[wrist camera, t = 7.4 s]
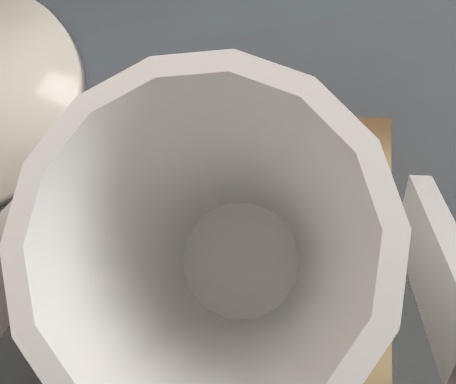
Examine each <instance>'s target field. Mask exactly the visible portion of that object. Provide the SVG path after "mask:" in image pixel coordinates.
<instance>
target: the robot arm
mask: <svg viewBox="0 0 456 384" xmlns="http://www.w3.org/2000/svg"><path fill="white" fill-rule="evenodd" d="M11 203H12V201H11V202H10V203H9V204H8V205H7V206H6V207H5V208H4V209H3V210H2V211H1V212H0V242H1V238H2V235H3V231H4V228H5V224H6V221H7V217H8V214H9V210H10V207H11ZM403 207H404V210H405V213H406V215H407V218H408V221H409V224H410V227H411V229H412V230H411V238H410V247H409V255H408V264H407V274H408V277H409V280H410V283H411V287H412V290H413V293H414V296H415V299H416V303H417V306H418V309H419V312H420V315H421V319H422V322H423V325H424V328H425V332H426V335H427V338H428V341H429V344H430V348H431V351H432V354H433V357H434V361H435V364H436V367H437V370H438V373H439V377H440V380H441V383H442V384H456V222H455V221H454V219H453V217H452V215H451V213H450V211H449V209H448V207H447V205H446V203H445V201H444V199H443V197H442V195H441V193H440V191H439V189H438V187H437V185H436V183H435V181H434V179H433V177H432V176H422V175H409V179H408V183H407V187H406V192H405V196H404V200H403ZM9 325H10V322H9V315H8V308H7V301H6V294H5V287H4V280H3V273H2V266H1V258H0V338H1V337H2V335H3V334H4V332H5V331H6V329H7V328H8V326H9Z"/></svg>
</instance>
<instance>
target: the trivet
mask: <svg viewBox="0 0 456 384" xmlns="http://www.w3.org/2000/svg"><path fill="white" fill-rule="evenodd" d="M85 89H86V84H85V72H84V68H83V63H82V59H81V56H80V54H79V51H78V48H77V46H76V44H75V42H74V41H73V39H72V37H71V35H70V34H69V33H68V32H67V30H66V29H65V28H64V27H63V25H62V24H61V23H60V22H59V21H58V19H57V18H56V17H55V16H54V15H53V14H52V13H51V12H50V11H49V10H48V9H47V8H46V7H44V6H43V5H42V4H40V3H39V2H37V1H36V0H0V206H2V205H4V204H7V203H9V202H11V201H12V199H13V196H14V192H15V189H16V185H17V182H18V178H19V175H20V171H21V168H22V164H23V162H24V161H25V160H26V158H27V157H28V156H29V155H30V153H31V152H32V151H33V150H34V148H35V147H36V146H37V145H38V143H39V142H40V141H41V140H42V138H43V137H44V136H45V135H46V133H47V132H48V131H49V130H50V128H51V127H52V126H53V125H54V123H55V122H56V121H57V120H58V118H59V117H60V116H61V115H62V113H63V112H64V111H65V110H66V109H67V107H68V106H69V105H70V104H71V102H72V101H73V100H74V99H75V97H76V96H78V95H80V94H81V93H83V92H85Z"/></svg>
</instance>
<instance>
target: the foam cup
mask: <svg viewBox="0 0 456 384" xmlns="http://www.w3.org/2000/svg"><path fill="white" fill-rule="evenodd" d="M411 230H412V229H411V227H410V224H409V221H408V218H407V215H406V213H405V210H404V207H403V204H402V202H401V199H400V196H399V193H398V190H397V188H396V185H395V182H394V179H393V176H392V174H391V171H390V168H389V165H388V163H387V160H386V157H385V154H384V151H383V149H382V146H381V143H380V140H379V139H378V138H377V137H376V136H375V135H374V134H373V133H372V132H371V131H370V130H369V129H368V128H367V127H366V126H365V125H364V124H363V123H362V122H361V121H360V120H359V119H358V118H357V117H355V116H354V115H353V114H352V113H351V112H350V111H349V110H348V109H347V108H346V107H345V106H344V105H343V104H342V103H341V102H340V101H339V100H338V99H337V98H336V97H335V96H334V95H333V94H332V93H331V92H330V91H329V90H328V89H327V88H326V87H325V86H324V85H323V84H322V83H321V82H320V81H319V80H318V79H317V78H316V77H314V76H311V75H308V74H305V73H302V72H299V71H296V70H294V69H291V68H288V67H285V66H282V65H279V64H276V63H273V62H270V61H268V60H265V59H262V58H259V57H256V56H253V55H250V54H247V53H245V52H242V51H239V50H236V49H226V50H215V51H203V52H192V53H181V54H170V55H158V56H150V57H148V58H146V59H144V60H142V61H140V62H139V63H137V64H135V65H133V66H131V67H129V68H128V69H126V70H124V71H122V72H120V73H118V74H116V75H115V76H113V77H111V78H109V79H107V80H105V81H104V82H102V83H100V84H98V85H96V86H94V87H92V88H91V89H89V90H87V91H85V92H83V93H81V94H80V95H78V96H76V97H75V99H74V100H73V101H72V102H71V104H70V105H69V106H68V107H67V109H66V110H65V111H64V112H63V113H62V115H61V116H60V117H59V118H58V120H57V121H56V122H55V123H54V125H53V126H52V127H51V128H50V130H49V131H48V132H47V133H46V135H45V136H44V137H43V138H42V140H41V141H40V142H39V143H38V145H37V146H36V147H35V148H34V150H33V151H32V152H31V153H30V155H29V156H28V157H27V158H26V160H25V161H24V162H23V164H22V168H21V171H20V175H19V178H18V182H17V185H16V189H15V192H14V196H13V199H12V203H11V207H10V210H9V214H8V217H7V221H6V224H5V228H4V231H3V235H2V238H1V242H0V258H1V266H2V273H3V280H4V287H5V294H6V301H7V308H8V315H9V322H10V329H11V336H12V339H13V340H14V342H15V343H16V345H17V346H18V348H19V349H20V351H21V352H22V354H23V355H24V357H25V358H26V360H27V361H28V363H29V364H30V366H31V367H32V369H33V370H34V372H35V373H36V375H37V376H38V378H39V379H40V381H41V382H42V384H363V383H364V382H365V380H366V379H367V377H368V376H369V374H370V373H371V372H372V370H373V369H374V367H375V366H376V364H377V363H378V361H379V360H380V358H381V357H382V355H383V354H384V352H385V351H386V349H387V348H388V346H389V345H390V343H391V342H392V340H393V339H394V337H395V336H396V334H397V333H398V331H399V330H400V323H401V315H402V306H403V298H404V289H405V281H406V272H407V264H408V255H409V247H410V238H411Z"/></svg>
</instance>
